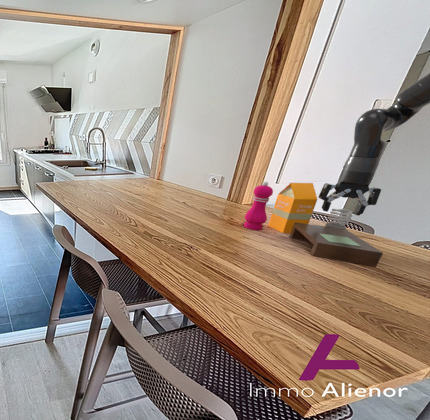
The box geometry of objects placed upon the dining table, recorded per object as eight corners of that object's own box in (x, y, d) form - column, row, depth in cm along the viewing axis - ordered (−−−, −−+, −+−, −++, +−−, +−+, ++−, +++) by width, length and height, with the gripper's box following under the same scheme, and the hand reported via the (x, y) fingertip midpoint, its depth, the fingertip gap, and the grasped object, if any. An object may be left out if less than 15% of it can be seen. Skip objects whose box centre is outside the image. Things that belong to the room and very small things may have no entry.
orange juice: (267, 225, 106) (281, 180, 99) (288, 226, 105) (304, 181, 99) (282, 233, 98) (299, 185, 92) (305, 233, 98) (323, 185, 92)
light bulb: (326, 239, 93) (338, 210, 89) (317, 233, 98) (328, 205, 94) (345, 241, 91) (359, 211, 87) (335, 235, 96) (347, 207, 92)
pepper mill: (260, 226, 105) (274, 180, 99) (266, 232, 99) (280, 184, 93) (240, 223, 108) (252, 179, 102) (244, 229, 102) (257, 182, 96)
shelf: (339, 243, 89) (345, 228, 87) (374, 270, 73) (383, 252, 71) (289, 236, 96) (294, 221, 94) (311, 259, 79) (318, 242, 77)
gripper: (336, 169, 86) (319, 212, 91) (396, 173, 80) (374, 219, 85) (326, 166, 92) (310, 207, 97) (380, 170, 86) (361, 213, 91)
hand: (340, 212), depth 91 cm, fingers open, 8 cm apart
